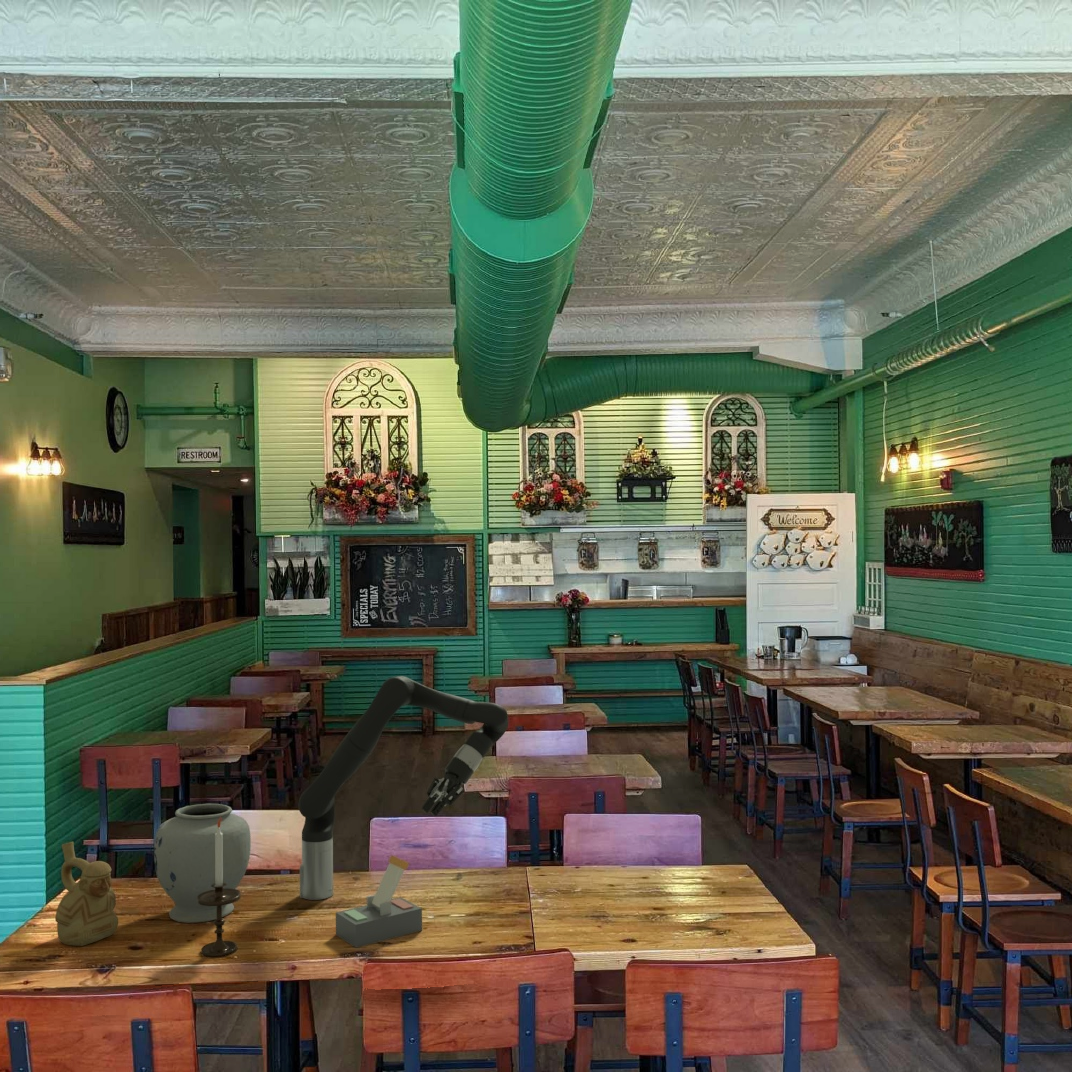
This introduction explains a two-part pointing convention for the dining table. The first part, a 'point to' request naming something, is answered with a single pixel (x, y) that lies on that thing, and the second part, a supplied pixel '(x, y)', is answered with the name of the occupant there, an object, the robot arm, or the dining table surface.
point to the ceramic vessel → (85, 901)
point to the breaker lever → (389, 881)
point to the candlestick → (219, 903)
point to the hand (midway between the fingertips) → (428, 812)
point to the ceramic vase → (199, 858)
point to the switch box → (378, 922)
